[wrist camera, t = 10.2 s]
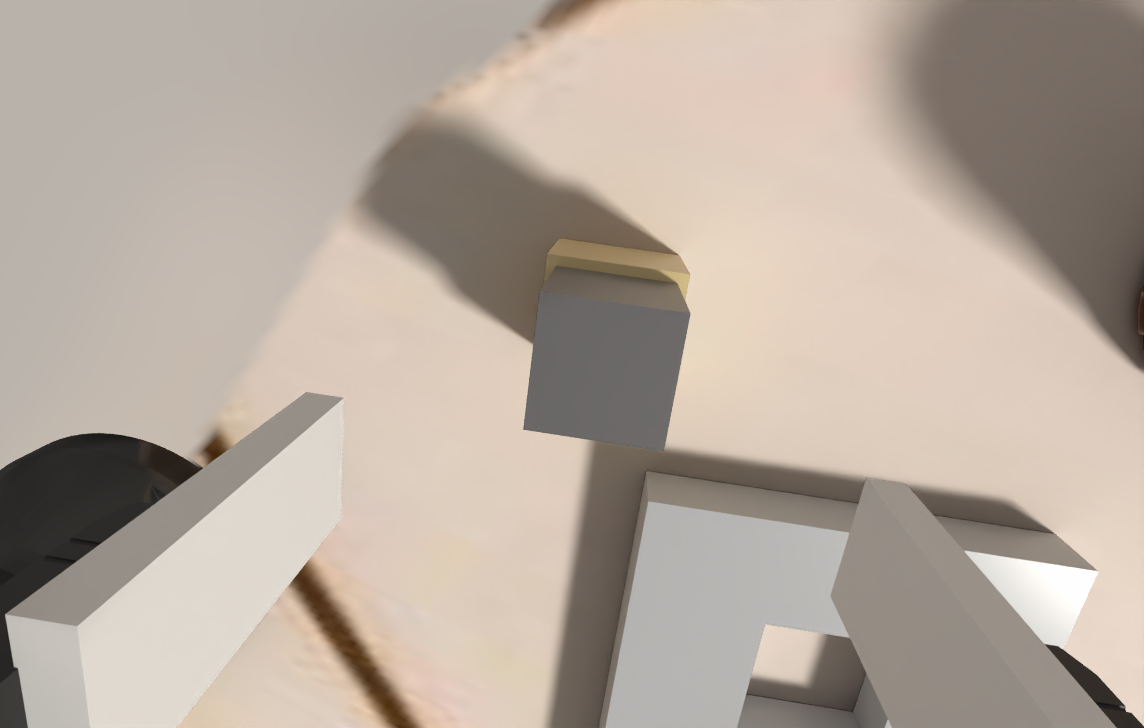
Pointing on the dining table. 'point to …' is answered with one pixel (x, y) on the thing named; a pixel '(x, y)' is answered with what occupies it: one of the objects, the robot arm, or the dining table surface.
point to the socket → (777, 600)
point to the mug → (1141, 316)
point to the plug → (607, 344)
